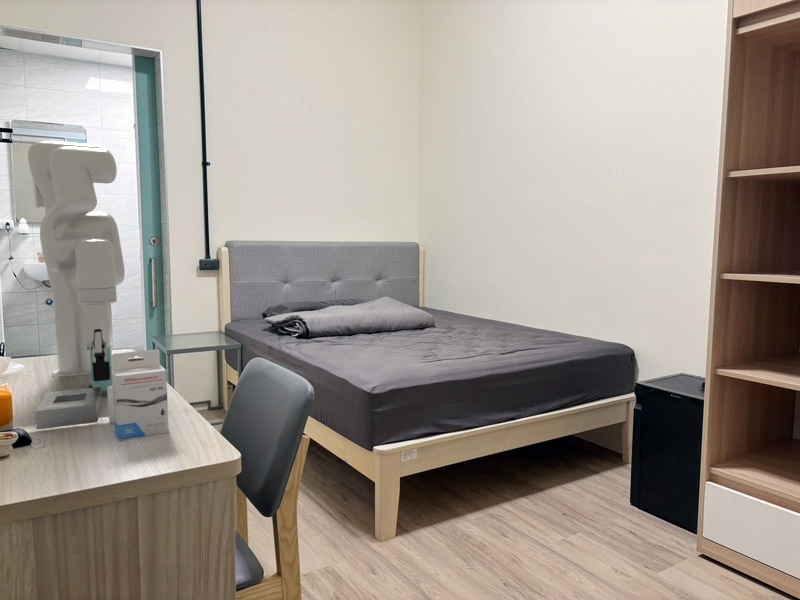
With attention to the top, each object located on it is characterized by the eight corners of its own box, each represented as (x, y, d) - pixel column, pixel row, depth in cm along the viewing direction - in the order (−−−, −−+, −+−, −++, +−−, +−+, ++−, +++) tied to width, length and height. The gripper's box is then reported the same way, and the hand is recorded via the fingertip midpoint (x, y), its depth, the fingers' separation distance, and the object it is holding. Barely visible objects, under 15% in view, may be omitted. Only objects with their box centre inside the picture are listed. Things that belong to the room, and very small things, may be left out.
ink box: (118, 441, 102) (113, 358, 100) (114, 433, 106) (109, 353, 104) (170, 432, 106) (166, 352, 105) (164, 424, 110) (160, 348, 109)
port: (48, 408, 121) (46, 391, 120) (102, 402, 125) (100, 386, 124) (36, 429, 108) (35, 410, 108) (97, 422, 112) (95, 403, 112)
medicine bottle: (164, 418, 114) (161, 358, 113) (131, 429, 108) (128, 365, 107) (141, 412, 118) (138, 354, 116) (108, 422, 112) (104, 361, 110)
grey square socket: (83, 393, 132) (82, 384, 132) (126, 388, 136) (126, 380, 136) (78, 403, 124) (78, 394, 124) (125, 398, 128) (125, 389, 128)
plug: (94, 390, 131) (91, 345, 130) (114, 388, 133) (111, 343, 131) (92, 394, 127) (89, 348, 126) (113, 392, 129) (110, 347, 128)
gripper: (81, 293, 134) (87, 371, 136) (73, 300, 118) (79, 388, 121) (118, 291, 137) (122, 368, 139) (114, 299, 121) (119, 384, 124)
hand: (102, 377), depth 130 cm, fingers closed on plug, 4 cm apart
